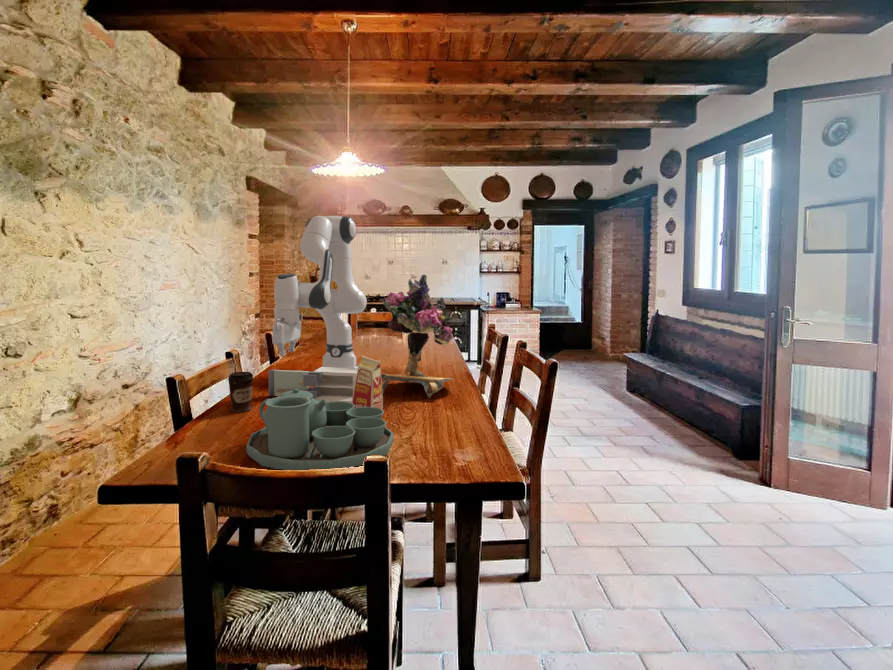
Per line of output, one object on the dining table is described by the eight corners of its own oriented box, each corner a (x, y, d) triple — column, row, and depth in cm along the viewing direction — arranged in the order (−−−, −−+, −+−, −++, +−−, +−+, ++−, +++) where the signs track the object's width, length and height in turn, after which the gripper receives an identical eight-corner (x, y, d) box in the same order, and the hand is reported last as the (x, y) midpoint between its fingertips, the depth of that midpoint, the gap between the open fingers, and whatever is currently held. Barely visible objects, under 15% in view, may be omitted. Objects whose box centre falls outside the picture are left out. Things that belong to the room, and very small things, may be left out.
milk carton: (350, 415, 190) (350, 357, 188) (363, 408, 199) (363, 353, 196) (374, 418, 187) (374, 359, 185) (386, 411, 196) (387, 355, 193)
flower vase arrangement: (455, 368, 257) (465, 277, 236) (452, 426, 218) (464, 322, 197) (383, 361, 257) (386, 269, 236) (367, 418, 217) (370, 314, 197)
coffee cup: (259, 410, 194) (258, 373, 192) (236, 414, 188) (235, 376, 186) (247, 405, 200) (246, 369, 198) (224, 409, 194) (223, 372, 192)
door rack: (281, 394, 216) (281, 387, 216) (306, 395, 216) (306, 388, 215) (276, 397, 212) (276, 389, 211) (302, 398, 211) (302, 390, 211)
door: (270, 394, 216) (269, 369, 214) (309, 396, 214) (309, 371, 213) (267, 396, 212) (266, 371, 211) (306, 398, 211) (306, 372, 210)
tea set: (392, 473, 140) (393, 409, 138) (228, 475, 137) (226, 410, 134) (393, 426, 179) (394, 376, 177) (266, 427, 176) (264, 376, 174)
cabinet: (317, 394, 218) (317, 366, 217) (361, 396, 217) (361, 368, 215) (303, 404, 202) (303, 374, 201) (351, 406, 201) (351, 376, 200)
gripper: (284, 319, 199) (284, 358, 201) (304, 315, 219) (304, 350, 221) (267, 319, 200) (267, 357, 201) (288, 314, 220) (288, 349, 222)
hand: (287, 353), depth 211 cm, fingers open, 8 cm apart
